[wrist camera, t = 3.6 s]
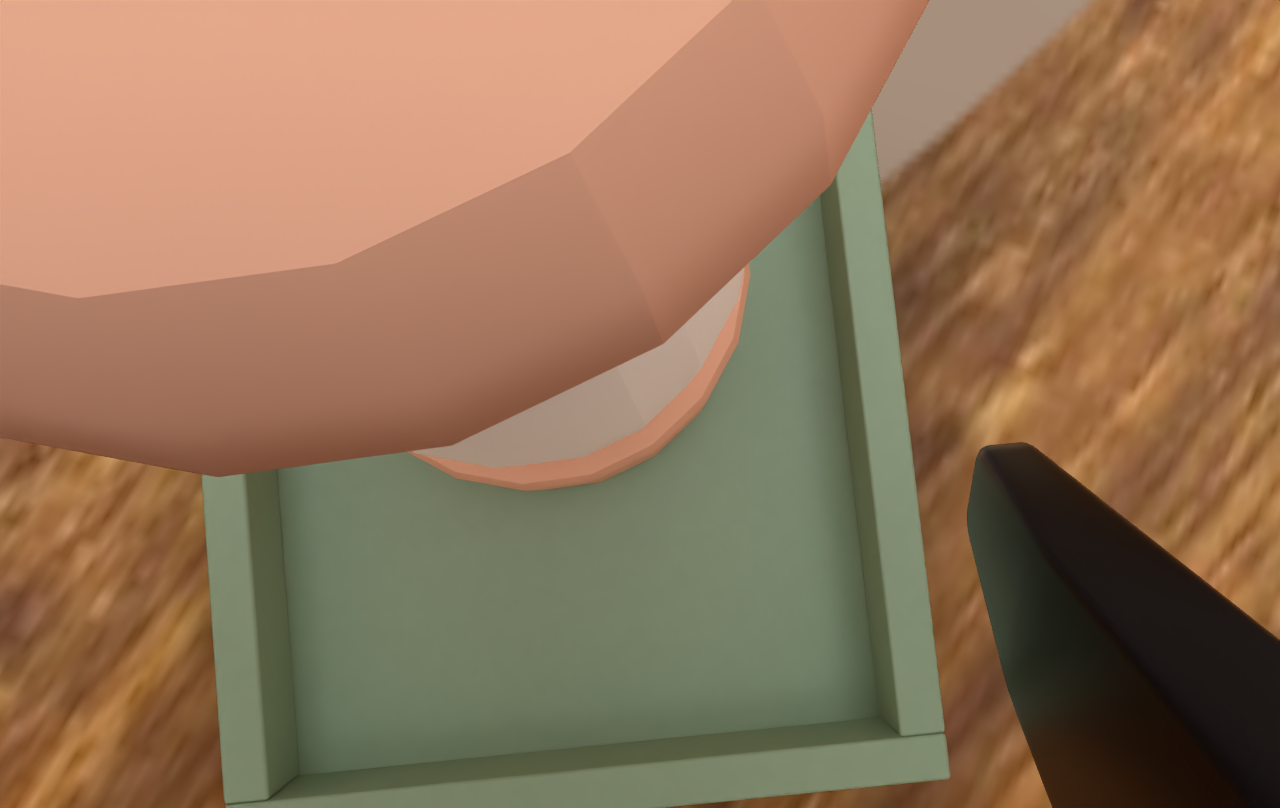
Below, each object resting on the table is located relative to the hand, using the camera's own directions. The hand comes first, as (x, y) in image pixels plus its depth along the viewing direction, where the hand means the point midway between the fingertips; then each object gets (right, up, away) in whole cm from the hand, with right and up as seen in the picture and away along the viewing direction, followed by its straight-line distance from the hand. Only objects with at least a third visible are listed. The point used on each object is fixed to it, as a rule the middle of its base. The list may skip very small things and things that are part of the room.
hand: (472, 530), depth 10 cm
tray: (0, +2, +12) cm, 12 cm away
